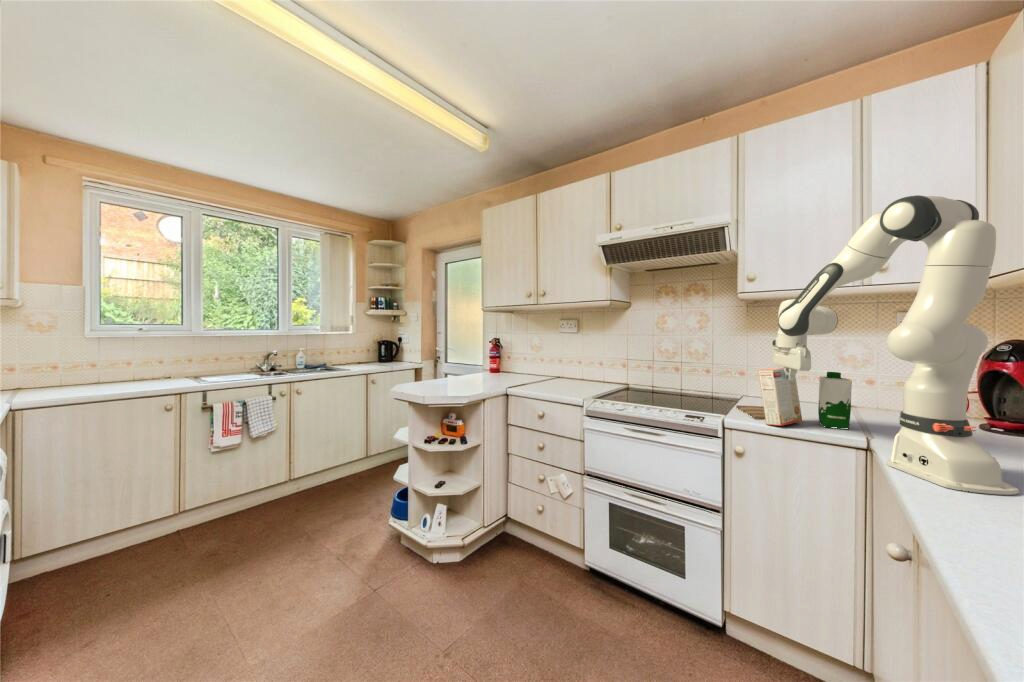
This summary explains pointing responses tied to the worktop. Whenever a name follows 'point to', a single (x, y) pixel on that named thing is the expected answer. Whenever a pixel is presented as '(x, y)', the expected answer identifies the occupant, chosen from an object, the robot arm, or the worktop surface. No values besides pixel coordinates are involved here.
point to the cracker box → (779, 397)
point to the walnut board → (753, 411)
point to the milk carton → (834, 400)
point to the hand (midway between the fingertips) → (790, 379)
